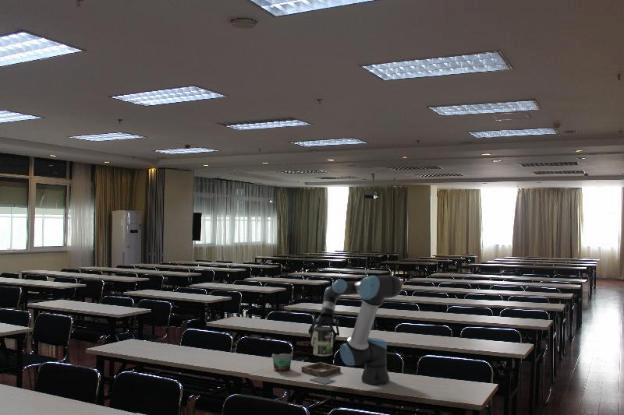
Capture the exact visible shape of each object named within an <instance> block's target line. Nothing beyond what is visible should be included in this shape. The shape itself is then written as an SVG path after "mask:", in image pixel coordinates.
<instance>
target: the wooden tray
mask: <svg viewBox="0 0 624 415" xmlns="http://www.w3.org/2000/svg"><path fill="white" fill-rule="evenodd" d="M318 369H322V370H318ZM341 369H342V367H341V366H337V365H333V364H330V363H325V362H321V361H319V362H315V363H312V364H308V365H303V366H301V373H303V374H307V375H310V376H311V375H312V376H315V377H324V378H327V377H329V376H333V375H337V374H339V373H342V371H341Z"/></svg>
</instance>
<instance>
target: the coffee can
mask: <svg viewBox="0 0 624 415" xmlns="http://www.w3.org/2000/svg"><path fill="white" fill-rule="evenodd" d="M332 334H333V333H332V328H331V327H329V326H322V327H316V326H315V327H314V344H313V355H314V356H319V357H328V356H331V355H333V347H331V345H330V344H331V338H332Z"/></svg>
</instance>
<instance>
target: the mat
mask: <svg viewBox="0 0 624 415" xmlns="http://www.w3.org/2000/svg"><path fill="white" fill-rule="evenodd" d="M309 381H310V382H313V383H318V384H320V385H324V386H325V385H329V384H331V383H332V384H333V383H335V382H336V380H335V379H330V378H329V377H328V378H327V377H318V376H316V377H315V378H310V379H309Z"/></svg>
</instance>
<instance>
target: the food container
mask: <svg viewBox="0 0 624 415" xmlns="http://www.w3.org/2000/svg"><path fill="white" fill-rule="evenodd" d="M271 357H272V362H273V370H274V371H275V372H278V373H286V372H290V371H291V363H292V358H293V352H290V353H279V354H276V353H272V354H271Z"/></svg>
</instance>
